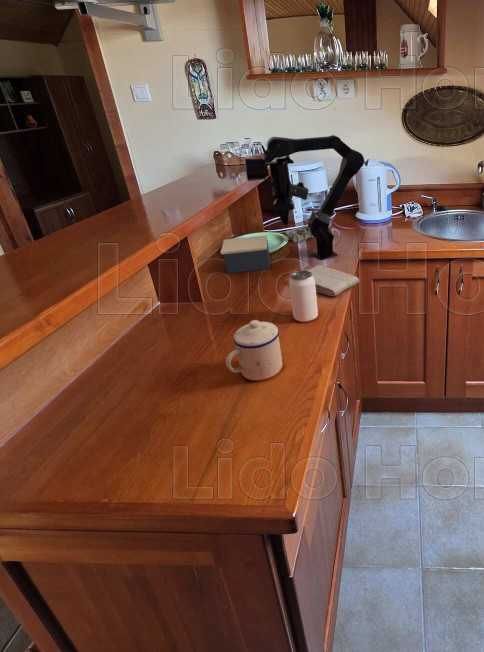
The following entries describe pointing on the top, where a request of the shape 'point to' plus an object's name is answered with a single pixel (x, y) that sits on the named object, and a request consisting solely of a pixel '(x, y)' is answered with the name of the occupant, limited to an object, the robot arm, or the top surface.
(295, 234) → the egg carton
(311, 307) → the can
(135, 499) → the top surface
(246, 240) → the lid
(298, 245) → the top surface
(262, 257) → the toy box
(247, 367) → the teacup with lid
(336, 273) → the washcloth
